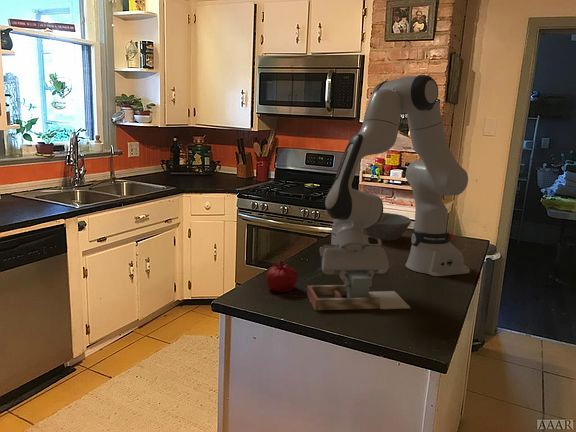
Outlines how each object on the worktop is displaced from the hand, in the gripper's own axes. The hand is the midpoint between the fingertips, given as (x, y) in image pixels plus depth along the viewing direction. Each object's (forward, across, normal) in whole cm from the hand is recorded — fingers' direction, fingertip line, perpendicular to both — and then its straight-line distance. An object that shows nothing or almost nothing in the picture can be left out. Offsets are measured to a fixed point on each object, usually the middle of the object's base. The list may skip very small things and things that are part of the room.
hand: (358, 286), depth 141 cm
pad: (+3, +10, +4) cm, 11 cm away
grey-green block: (+3, 0, +4) cm, 5 cm away
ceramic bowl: (-45, +33, +52) cm, 76 cm away
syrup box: (-23, +5, +30) cm, 38 cm away
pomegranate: (-4, -21, +12) cm, 25 cm away
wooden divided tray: (+3, -4, +4) cm, 6 cm away
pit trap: (+3, -10, +4) cm, 11 cm away
